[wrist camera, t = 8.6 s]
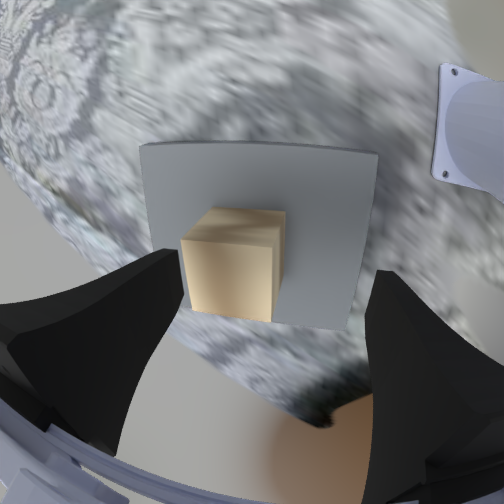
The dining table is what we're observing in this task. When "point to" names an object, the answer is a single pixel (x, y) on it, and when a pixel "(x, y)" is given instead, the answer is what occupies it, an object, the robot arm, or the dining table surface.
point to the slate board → (278, 199)
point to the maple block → (235, 262)
